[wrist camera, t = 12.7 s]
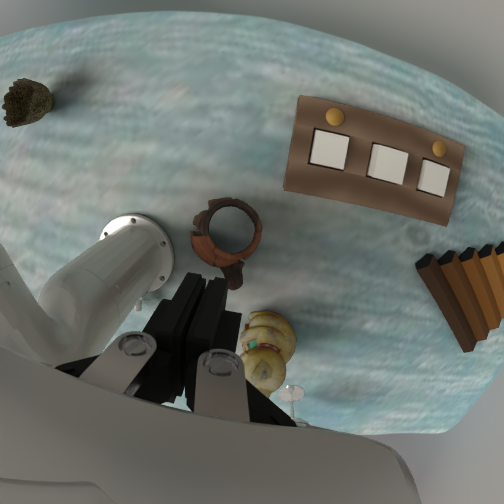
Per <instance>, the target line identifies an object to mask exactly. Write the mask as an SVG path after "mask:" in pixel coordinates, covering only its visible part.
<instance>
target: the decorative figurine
mask: <svg viewBox="0 0 504 504" xmlns="http://www.w3.org/2000/svg"><path fill="white" fill-rule="evenodd" d="M248 319H249V320H248V322H249V324H245V328H244V331H243V332H242V333H241V336H240V341H241V343H242V347H243V353H242V354H241V356H240V358H241V359H242V360H243V363H244V369H245V378H246V379H247V380H248V381H249V382H250V383H251V384H252V385H254V386H255V387H256V388H257V389H258V390H259V391H260V392H261V393H263V394H264V395H265V396H266V397H267V398H268V399H269V396H270V394H271V393H272V392H274V391H276V390H277V389H278V388H279V387H280V386H281V385H282V384H283V382H284V380H285V377H286V363H287V362H288V361H289V360H290V359H291V357H292V356H293V354H294V352H295V348H296V342H297V338H296V336H295V333H294V331H293V329H292V327H291V325H290V324H289V323H288V322H287V321H286V320H285V319H284V318H283V317H282V316H280V315H279V314H277V313H274V312H270V311H253V312H251V313H250V314H249V317H248Z"/></svg>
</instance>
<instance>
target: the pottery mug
mask: <svg viewBox="0 0 504 504" xmlns="http://www.w3.org/2000/svg"><path fill="white" fill-rule="evenodd" d="M208 203H209V210H204V211H202V212H200V213H199V215H196V216H195V217H194V220H193V225H196V227H197V228H198V229H199V231H200V232H201V233H202V235H201V236H195V232H194V231H191V232H190V238H191V243H192V248H193V250H194V251H195V253H196V254H197V255H198V256H199V257H200V258H201V259H202V260H203V261H205V262H206V263H207V264H209V265H211V266H214V267H218V268H220V269H221V270H222V272H223V274H224V277H225V279H229V283H228V289H230V290H236V289H239V288H240V287H241V286H242V284H243V275H242V267H243V266H244V264H245V263H244V262H243V261H240V260H241V259H242V258H243V259H245V260H246V259H247V258H248V257H249V256H250V255H251V254H252V253H253V251H254V250H255V249H256V248H257V246H258V244H259V242H260V239H261V232H262V225H261V221H260V219H259V217H258V214H257V213H256V212H255V210H254V209H253V208H252V207H251V206H249V205H248V204H247V203H245V202H243V201H241V200H239V199H232V198H230V197H228V198H221V199H213V200H209V201H208ZM228 206H232V207H237V208H239V209H241V210H243V211H245V212H246V213H247V214H248V215H249V217H250V218H251V220H252V221H253V223H254V226H255V233H254V237H253V240H252V242H251V244H250V245H249V246H248V247H247V248H246V249H245V250H243V251H241V252H238V253H228V252H225V251H222V250H221V249H219V248H218V247H217V246H216V245H215V244H214V243H213V241H212V239H211V237H210V234H209V223H210V220H211V217H212V216H213V214H214V213H215V212H216V211H217V210H219V209H221V208H223V207H228Z"/></svg>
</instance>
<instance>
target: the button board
mask: <svg viewBox="0 0 504 504" xmlns="http://www.w3.org/2000/svg"><path fill="white" fill-rule="evenodd" d="M315 130H319V131H324V132H328V133H333V134H337V135H341V136H345V137H349V142H348V148H347V153H346V158H345V164H344V169H339V168H334V167H330V166H325V165H320V164H315V163H311V162H309V156H310V150H311V144H312V138H313V133H314V131H315ZM373 144H376V145H382V146H385V147H389V148H392V149H396V150H399V151H402V152H405V153H408V159H407V164H406V169H405V173H404V178H403V183H402V185H401V184H397V183H393V182H390V181H386V180H382V179H378V178H374V177H372V176H369V175H367V172H368V167H369V162H370V157H371V152H372V146H373ZM464 150H465V146H464V145H462V144H459V143H457V142H455V141H452V140H450V139H448V138H445V137H443V136H440V135H438V134H435V133H433V132H430V131H427V130H425V129H422V128H419V127H417V126H414V125H411V124H408V123H405V122H402V121H399V120H396V119H393V118H390V117H387V116H384V115H381V114H377V113H374V112H370V111H367V110H363V109H360V108H356V107H352V106H348V105H345V104H340V103H336V102H332V101H328V100H323V99H319V98H314V97H309V96H304V95H300V96H299V98H298V102H297V108H296V114H295V120H294V127H293V133H292V139H291V144H290V150H289V156H288V162H287V168H286V174H285V179H284V185H283V188H284V191H290V192H296V193H301V194H306V195H312V196H317V197H322V198H327V199H332V200H337V201H342V202H347V203H351V204H356V205H361V206H365V207H370V208H374V209H379V210H383V211H387V212H391V213H396V214H400V215H404V216H408V217H412V218H416V219H420V220H423V221H427V222H431V223H435V224H439V225H442V226H446V227H447V225H448V221H449V218H450V214H451V210H452V206H453V202H454V198H455V194H456V190H457V186H458V181H459V176H460V171H461V166H462V161H463V156H464ZM422 159H423V160H427V161H430V162H433V163H436V164H439V165H441V166H444V167H447V168H450V171H449V176H448V181H447V185H446V190H445V194H444V197H442V196H439V195H436V194H433V193H430V192H426V191H423V190H420V189H418V188H416V187H417V183H418V178H419V174H420V169H421V164H422Z"/></svg>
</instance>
